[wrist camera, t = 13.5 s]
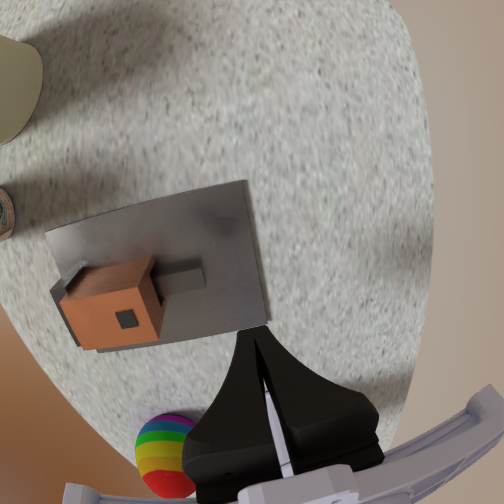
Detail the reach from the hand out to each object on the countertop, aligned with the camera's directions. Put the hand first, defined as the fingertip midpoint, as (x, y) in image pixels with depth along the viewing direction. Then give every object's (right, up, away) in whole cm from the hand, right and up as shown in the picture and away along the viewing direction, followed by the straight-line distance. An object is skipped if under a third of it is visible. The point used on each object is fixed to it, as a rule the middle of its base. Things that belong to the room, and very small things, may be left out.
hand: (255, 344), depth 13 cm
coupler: (-8, +2, +9) cm, 12 cm away
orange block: (-10, +2, +8) cm, 13 cm away
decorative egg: (-9, -16, +16) cm, 24 cm away
